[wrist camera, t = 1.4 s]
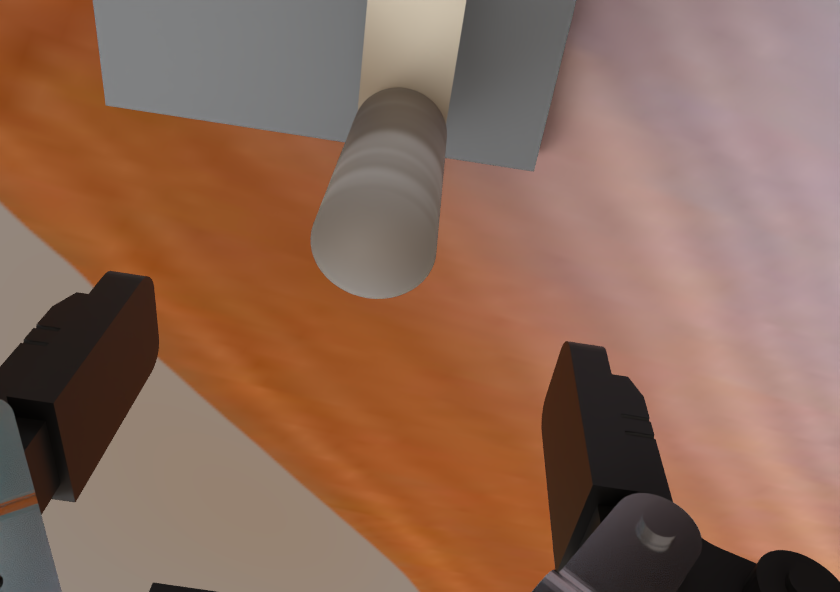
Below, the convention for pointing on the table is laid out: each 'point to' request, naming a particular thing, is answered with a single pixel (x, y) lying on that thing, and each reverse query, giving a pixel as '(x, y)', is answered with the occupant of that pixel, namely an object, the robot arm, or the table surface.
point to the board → (328, 67)
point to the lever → (392, 153)
